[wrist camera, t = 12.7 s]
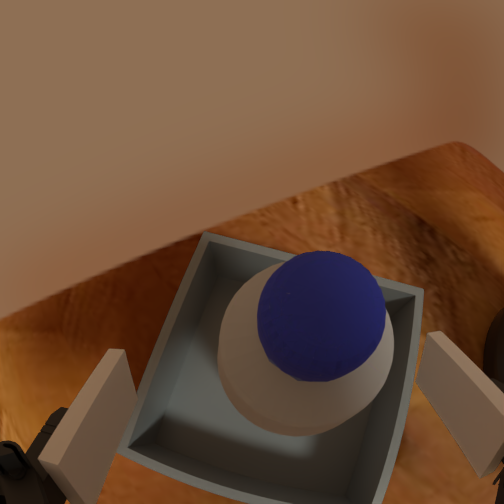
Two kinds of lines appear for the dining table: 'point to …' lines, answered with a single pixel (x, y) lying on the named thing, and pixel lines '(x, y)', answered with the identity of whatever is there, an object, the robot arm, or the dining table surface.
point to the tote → (242, 430)
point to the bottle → (305, 344)
